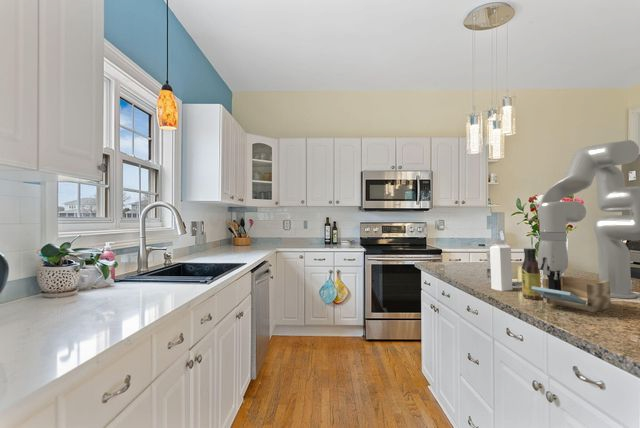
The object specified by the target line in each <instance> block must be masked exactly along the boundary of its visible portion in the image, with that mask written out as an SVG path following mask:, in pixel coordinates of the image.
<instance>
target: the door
mask: <svg viewBox="0 0 640 428" xmlns="http://www.w3.org/2000/svg"><path fill="white" fill-rule="evenodd" d="M531 289H532V290H534V291H536V292H538V293H539V294H541V296H542V297H543V296H545V297H547V298H551V299H557V300H562V301H568V302H573V303H578V304H584V305H586V301H584V300H582V299H581V298H579V297H577V296H576V295H574V294H572V293H571V292H565V291H559V290H553V289H546V288H543V287H541V288H540V287H534V286H532V288H531Z"/></svg>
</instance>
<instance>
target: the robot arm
mask: <svg viewBox="0 0 640 428" xmlns="http://www.w3.org/2000/svg"><path fill="white" fill-rule="evenodd" d="M639 155H640V147H639V145H638V144H637V143H636V142H635V141H634V140H631V139H626V140H621V141H613V142H606V143H600V144H595V145H589V146H584V147H581V148H579V149H577V151H575V153H573V157H572V158H571V160H570V163H569V166H568V168H567V171H566V173H565V176H564V177H563V178H561V179H560V180H559V181H557V182H556V183H555V184H553V185H552V186H551V187H549V188H548V189H547V190H546V191H545V192H544V193H543V195H542V196H541V199H540V201H539V204H538V207H537V211H536V213H537V217H538V221H539V222H538V223H539V244H538V250H537V251H538V252H537V262H538V268H539V269H540V271H542V274H543V275H546V278H547V279H548V288H549V289H553V290H559V291H561V280H559V279H561V278H562V275H563V274H564V273H565V272H566V271H565V270H567V269H568V267H569V260H568V259H569V258H568V257H569V256H568V249H567V243H566V242H567V224H568V223H578V222H581V221H583V220H584V218H585V217H586V215H587V210H586V207H585V205H584V204H583V203H581V202H579V201H576V200H575V201H574V200H570V201H569V200H568V201H561V200H564V199H565V198H566V197H569V196H570V197H571V196H572V195H574V194H577V193H580V192H582V191H585V190H586V189H588V188H589V187H591V185H592V184H593V180H594V179H595V180H596V181H595V182H596V194H597V195H596V199H597V200H596V201H597V206H598V209H599V210H600V211H602V212H605V213H623V212H624V213H626V212H627V213H628V212H629V213H630V212H632V214H630V215H629V214H627V215H625V214H623V215H622V214H621V215H618V214H617V215H616V214H615V215H613V214H612V215H611V214H610V215H605V216H603V215H602V216H600V217H598V218H597V219H595V220H594V223H593V230H594V231H593V232H594V235H595V239H596V242H597V244H596V245H597V257H598V258H597V262H598V277H599V279H598V280H604V281H610V298H616V299H636V298H637V297H638V293H636V292H633V291H632V289H633V288H634V284H632V278H631V257H630V255H631V254H630V250H629V247H628V246H627V245H626V244H625V243H624V242H623V241H625V240H626V241H640V186H637V185H636V186H626V183H625V174H624V172H623V171H622V170H621V169H620V168H619V167H617V166H621V165H626V164H630V163H633V162H634V161H635V162H636V160H637V159H638V157H639Z"/></svg>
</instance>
